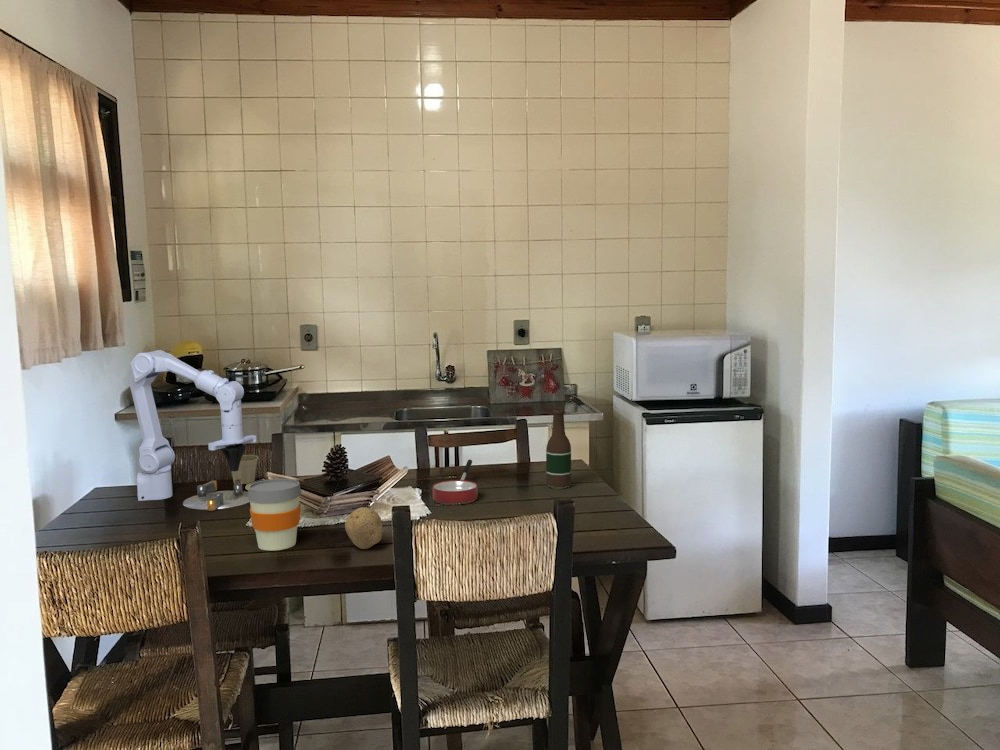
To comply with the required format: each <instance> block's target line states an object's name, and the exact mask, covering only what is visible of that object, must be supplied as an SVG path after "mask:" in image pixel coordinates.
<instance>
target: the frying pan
mask: <svg viewBox="0 0 1000 750" xmlns="http://www.w3.org/2000/svg"><path fill="white" fill-rule="evenodd" d="M472 464H473V460H472V459H468V460H467V462H466V464H465V466H464V469H463V470H462V476H461V478H460V479H449V480H442V481H438V482H435V483H434V484H433V485H432V501H433V500H435V501H437V502H444V503H460V502H468V501H472V500H474V499H476V498H477V497H478V495H479V494H478V492H479V491H478V483H477V482H475V481H471V480H466V477H467V476H468V474H469V471H470V469H471V467H472ZM477 499H478V498H477Z"/></svg>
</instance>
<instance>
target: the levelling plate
mask: <svg viewBox="0 0 1000 750" xmlns="http://www.w3.org/2000/svg"><path fill="white" fill-rule="evenodd" d="M219 492H222V493H223V500H224V504H222V505H220V506H219V507H218V508H216V509H215V510H222V509H229V508H233V507H239V506H242V505H246V504H248V503H249V504H250V500H249V499H248V491H246V490H242V492H243V494H242V495H234V490H219V491H218V490H217V491H214V492H212V493H210V494H208V495H206V496H204V497H198V494H197V495H193V496H190V497H188V498H186V499H184V501H182V505H183V506H184V507H185V508H188V509H192V510H193V509H195V510H208V505H207V500H209V499H210V498H212V497H213V496H214V494H215V493H219Z"/></svg>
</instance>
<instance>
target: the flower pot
mask: <svg viewBox="0 0 1000 750" xmlns="http://www.w3.org/2000/svg"><path fill="white" fill-rule="evenodd" d="M258 460H259V456H258V455H254V454H253V455H252V454H243V455H242V457H241V461H240V465H239V470H238V471H231V470H230V471H231V476H232V480H233V481H232V483H234V480H237V479H241V484H242V485H245V484H246V485H247V484H251V483H250V482H252V483H254V482H256V469H257V464H258ZM253 481H254V482H253Z"/></svg>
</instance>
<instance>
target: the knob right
mask: <svg viewBox="0 0 1000 750" xmlns="http://www.w3.org/2000/svg"><path fill="white" fill-rule="evenodd" d="M233 491H234V495H242V494H243V492H242V491H243V484H241V479H237V480H234V482H233Z"/></svg>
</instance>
